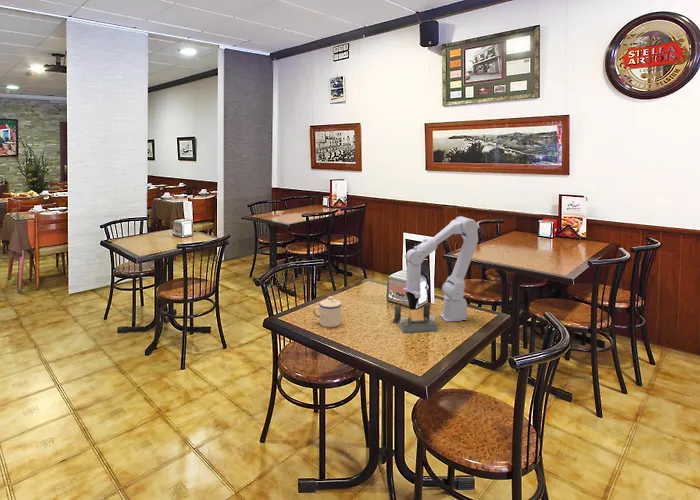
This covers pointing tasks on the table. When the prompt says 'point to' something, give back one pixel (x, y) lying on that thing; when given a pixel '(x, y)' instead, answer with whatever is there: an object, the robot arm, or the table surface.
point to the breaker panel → (417, 325)
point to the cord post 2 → (426, 310)
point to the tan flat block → (417, 316)
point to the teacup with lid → (329, 312)
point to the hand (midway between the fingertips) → (412, 309)
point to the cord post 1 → (397, 314)
